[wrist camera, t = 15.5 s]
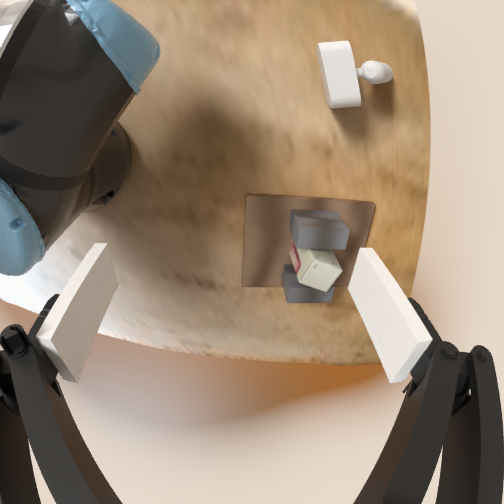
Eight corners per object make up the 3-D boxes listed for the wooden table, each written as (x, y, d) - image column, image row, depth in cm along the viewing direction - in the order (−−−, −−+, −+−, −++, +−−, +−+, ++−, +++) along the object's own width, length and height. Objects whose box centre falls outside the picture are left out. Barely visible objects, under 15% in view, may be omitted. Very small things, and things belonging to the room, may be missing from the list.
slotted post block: (241, 283, 49) (243, 311, 43) (246, 193, 40) (248, 214, 34) (351, 282, 50) (363, 308, 44) (372, 201, 42) (393, 221, 36)
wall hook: (394, 98, 32) (418, 106, 24) (326, 102, 35) (332, 110, 27) (385, 46, 28) (407, 39, 20) (314, 50, 31) (317, 41, 23)
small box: (287, 251, 45) (297, 283, 38) (301, 229, 43) (313, 258, 36) (314, 262, 46) (326, 293, 39) (328, 241, 44) (343, 270, 37)
